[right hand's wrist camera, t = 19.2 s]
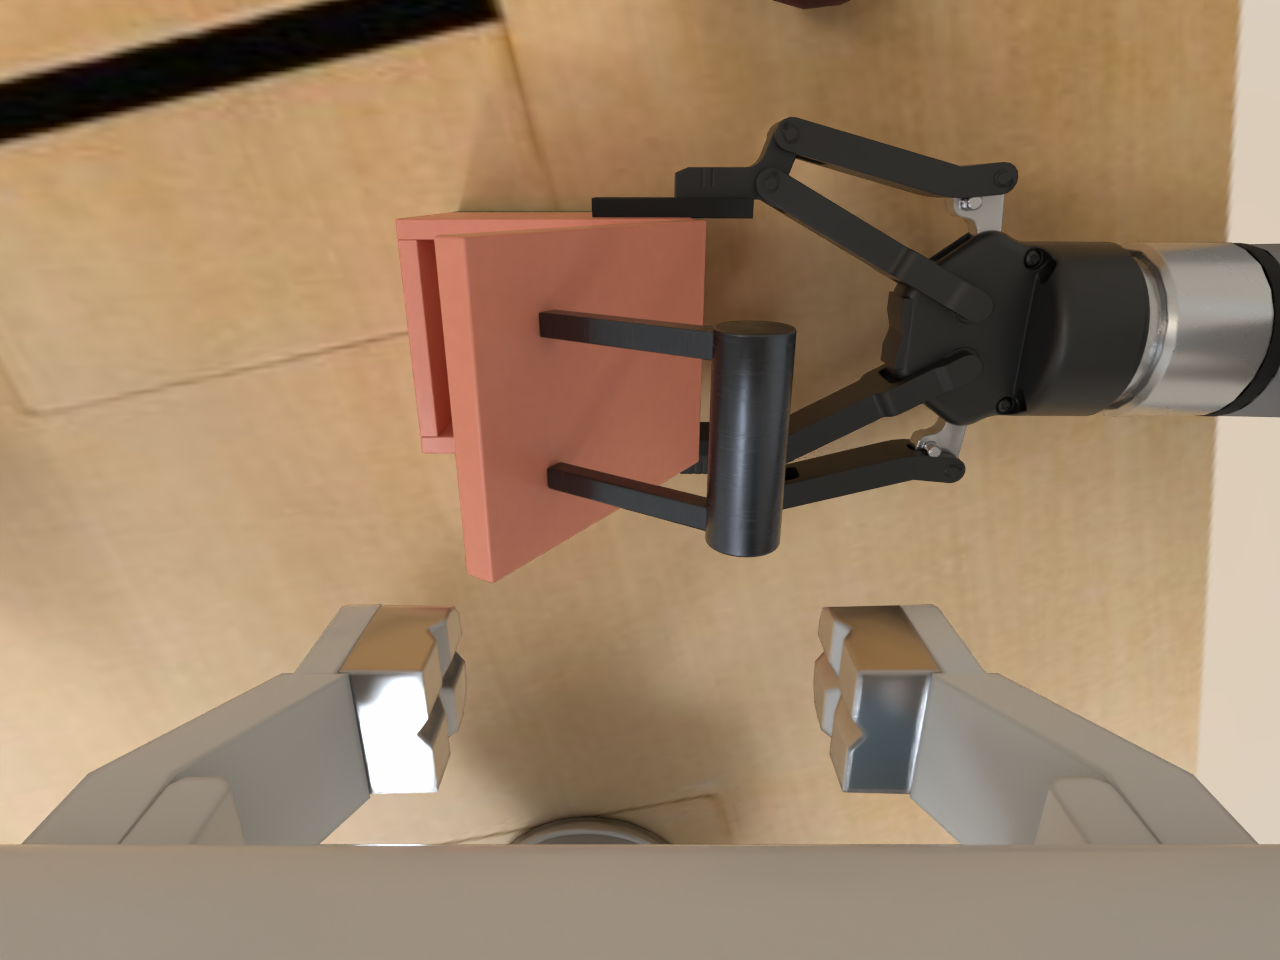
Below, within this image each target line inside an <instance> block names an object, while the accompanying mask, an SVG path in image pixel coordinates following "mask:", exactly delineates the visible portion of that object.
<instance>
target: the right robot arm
mask: <svg viewBox="0 0 1280 960" xmlns="http://www.w3.org/2000/svg"><path fill="white" fill-rule="evenodd" d="M461 635H462V630H461V623H460V615H459V612H458V610H457V609H456V607H455V606H412V605H384V606H383V605H381V604H375V605H347V606H344V607H342V608H341V609H340V610H339V611H338V613H337V614H336V615H335V617H334V618H333V620H332V621H331V622H330V624H329V625H328V627H327V628H326V629H325V631H324V632H323V633H322V635H321V636H320V638H319V639H318V640H317V642H316V643H315V644H314V646H313V647H312V649H311V650H310V651H309V653H308V654H307V656H306V657H305V658H304V660H303V661H302V662H301V664H300V665H299V667H298V668H297V669H296V671H295V672H294V673H282V674H280V675H278V676H276V677H274V678H272V679H270V680H268V681H266V682H264V683H263V684H261V685H259V686H257V687H255V688H253V689H251V690H249V691H247V692H245V693H243V694H241V695H239V696H237V697H235V698H234V699H232V700H230V701H228V702H226V703H224V704H222V705H220V706H218V707H216V708H214V709H212V710H210V711H208V712H206V713H205V714H203V715H201V716H199V717H197V718H195V719H193V720H191V721H189V722H187V723H185V724H183V725H181V726H179V727H177V728H176V729H174V730H172V731H170V732H168V733H166V734H164V735H162V736H160V737H158V738H156V739H154V740H152V741H150V742H148V743H147V744H145V745H143V746H141V747H139V748H137V749H135V750H133V751H131V752H129V753H127V754H125V755H123V756H121V757H119V758H118V759H116V760H114V761H112V762H110V763H108V764H106V765H104V766H102V767H100V768H98V769H96V770H94V771H92V772H90V773H89V774H88V775H87V776H86V777H85V778H84V779H83V780H82V781H81V782H80V783H79V784H78V785H77V786H76V787H75V788H74V789H73V790H72V791H71V792H70V793H69V795H68V796H67V797H66V798H65V799H64V800H63V801H62V802H61V803H60V804H59V805H58V806H57V807H56V808H55V809H54V810H53V811H52V812H51V813H50V815H49V816H48V817H47V818H46V819H45V820H44V821H43V822H42V823H41V824H40V825H39V826H38V827H37V828H36V829H35V830H34V831H33V832H32V833H31V835H30V836H29V837H28V838H27V839H26V840H25V841H24V842H23V843H22V844H21V845H0V960H1280V844H1258V843H1257V842H1256V841H1255V840H1254V839H1253V838H1252V837H1251V835H1250V834H1249V833H1248V832H1247V831H1246V830H1245V829H1244V828H1243V827H1242V826H1241V825H1240V824H1239V823H1238V822H1237V821H1236V820H1235V819H1234V817H1233V816H1232V815H1231V814H1230V813H1229V812H1228V811H1227V810H1226V809H1225V808H1224V807H1223V806H1222V805H1221V804H1220V803H1219V802H1218V801H1217V799H1216V798H1215V797H1214V796H1213V795H1212V794H1211V793H1210V792H1209V791H1208V790H1207V789H1206V788H1205V787H1204V786H1203V785H1202V784H1201V783H1200V781H1199V780H1198V779H1197V778H1196V777H1195V776H1194V775H1193V774H1191V773H1189V772H1187V771H1185V770H1183V769H1181V768H1179V767H1177V766H1175V765H1173V764H1172V763H1170V762H1168V761H1166V760H1164V759H1162V758H1160V757H1158V756H1156V755H1154V754H1152V753H1150V752H1148V751H1147V750H1145V749H1143V748H1141V747H1139V746H1137V745H1135V744H1133V743H1131V742H1129V741H1127V740H1125V739H1123V738H1121V737H1120V736H1118V735H1116V734H1114V733H1112V732H1110V731H1108V730H1106V729H1104V728H1102V727H1100V726H1098V725H1096V724H1094V723H1093V722H1091V721H1089V720H1087V719H1085V718H1083V717H1081V716H1079V715H1077V714H1075V713H1073V712H1071V711H1069V710H1068V709H1066V708H1064V707H1062V706H1060V705H1058V704H1056V703H1054V702H1052V701H1050V700H1048V699H1046V698H1044V697H1042V696H1041V695H1039V694H1037V693H1035V692H1033V691H1031V690H1029V689H1027V688H1025V687H1023V686H1021V685H1019V684H1017V683H1015V682H1014V681H1012V680H1010V679H1008V678H1006V677H1004V676H1002V675H1000V674H998V673H986V672H985V671H984V669H983V668H982V667H981V665H980V664H979V663H978V661H977V660H976V658H975V657H974V656H973V654H972V653H971V652H970V650H969V649H968V647H967V646H966V645H965V643H964V642H963V641H962V639H961V638H960V637H959V635H958V634H957V632H956V631H955V630H954V628H953V627H952V626H951V624H950V623H949V621H948V620H947V619H946V617H945V616H944V615H943V613H942V612H941V611H940V609H939V608H938V607H936V606H934V605H932V604H922V605H896V606H855V607H825V608H823V609H822V613H821V616H820V621H819V629H818V635H819V638H820V641H821V643H822V646H823V648H824V652H823V653H822V654H821V655H820V657H819V658H818V659H817V660H816V661H815V669H814V682H813V683H814V702H815V708H816V713H817V717H818V721H819V724H820V727H821V730H822V731H823V732H825V733H826V734H827V735H829V736H830V737H831V745H830V757H831V760H832V763H833V765H834V768H835V771H836V774H837V777H838V780H839V783H840V786H841V788H842V791H843V792H856V793H892V794H910V798H911V799H912V800H914V801H915V802H916V803H917V804H918V805H919V806H920V807H921V808H922V809H923V810H924V811H926V812H927V813H928V814H929V815H930V816H931V817H932V818H933V819H934V820H935V821H936V822H937V823H939V824H940V825H941V826H942V827H943V828H944V829H945V830H946V831H947V832H948V833H949V834H951V835H952V836H953V837H954V838H955V839H956V840H957V841H958V842H959V843H960V844H320V843H321V842H322V841H323V840H324V839H325V838H326V837H328V836H329V835H330V834H331V833H332V832H333V831H334V830H335V829H336V828H337V827H338V826H340V825H341V824H342V823H343V822H344V821H345V820H346V819H347V818H348V817H349V816H351V815H352V814H353V813H354V812H355V811H356V810H357V809H358V808H359V807H360V806H361V805H363V804H364V803H365V802H366V801H367V800H368V799H369V798H370V794H387V793H422V792H438V789H439V786H440V783H441V780H442V777H443V774H444V771H445V768H446V765H447V763H448V760H449V757H450V745H449V737H450V736H451V735H453V734H454V733H455V732H456V731H458V730H459V727H460V724H461V720H462V717H463V713H464V706H465V699H466V667H465V661H464V660H463V659H462V658H461V657H460V656H459V654H458V653H457V652H456V648H457V646H458V643H459V641H460V638H461Z"/></svg>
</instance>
